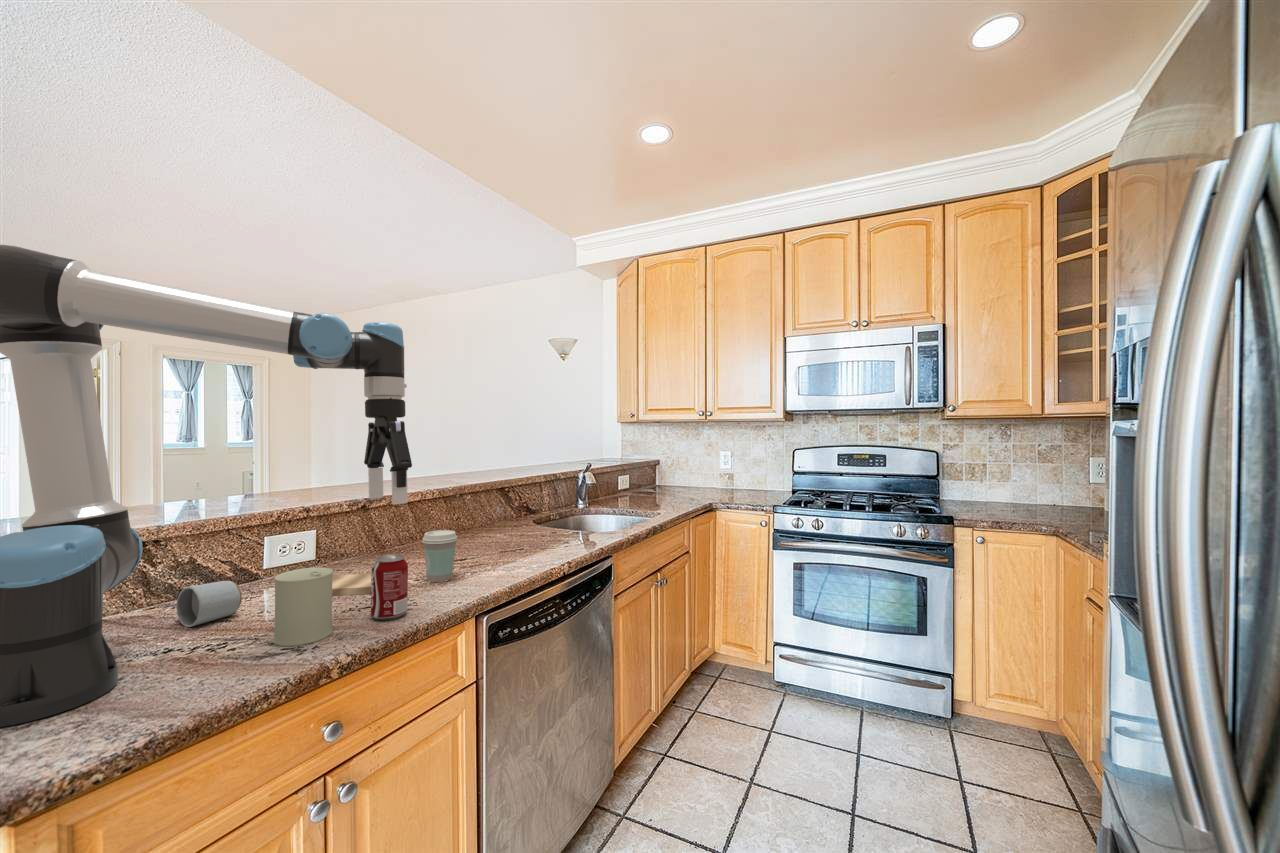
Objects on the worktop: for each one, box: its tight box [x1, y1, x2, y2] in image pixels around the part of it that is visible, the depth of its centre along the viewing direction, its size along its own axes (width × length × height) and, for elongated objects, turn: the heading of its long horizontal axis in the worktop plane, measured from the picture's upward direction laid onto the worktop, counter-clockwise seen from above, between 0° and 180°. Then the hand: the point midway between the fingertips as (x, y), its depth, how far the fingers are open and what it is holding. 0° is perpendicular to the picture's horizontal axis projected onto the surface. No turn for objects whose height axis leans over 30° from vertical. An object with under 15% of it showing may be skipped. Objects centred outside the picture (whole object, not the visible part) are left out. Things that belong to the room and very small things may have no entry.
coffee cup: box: [421, 529, 459, 583], centre depth 131 cm, size 8×8×12 cm
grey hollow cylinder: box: [175, 580, 243, 628], centre depth 103 cm, size 11×8×8 cm
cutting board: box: [332, 573, 371, 597], centre depth 124 cm, size 16×12×2 cm
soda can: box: [370, 554, 409, 621], centre depth 105 cm, size 7×7×12 cm
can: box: [272, 566, 334, 647], centre depth 95 cm, size 9×9×12 cm
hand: (387, 500), depth 106 cm, fingers open, 13 cm apart
